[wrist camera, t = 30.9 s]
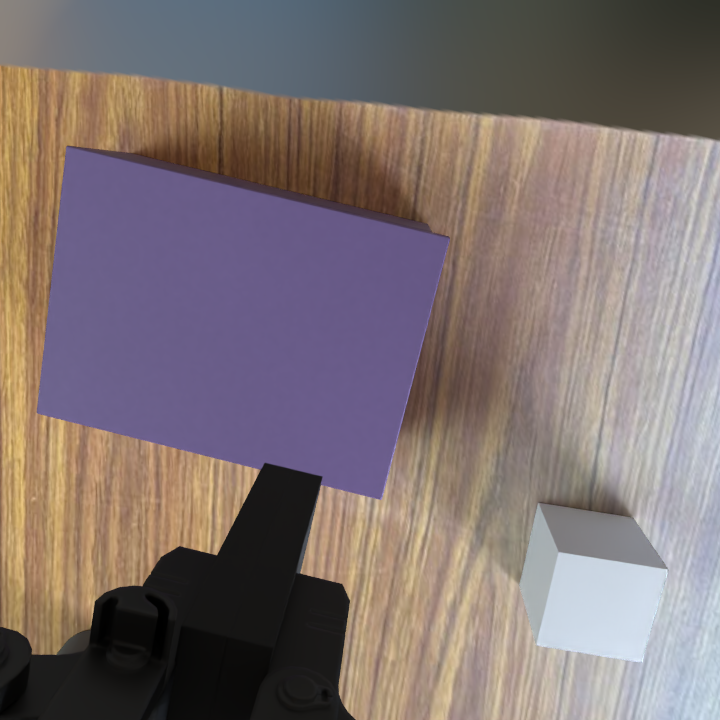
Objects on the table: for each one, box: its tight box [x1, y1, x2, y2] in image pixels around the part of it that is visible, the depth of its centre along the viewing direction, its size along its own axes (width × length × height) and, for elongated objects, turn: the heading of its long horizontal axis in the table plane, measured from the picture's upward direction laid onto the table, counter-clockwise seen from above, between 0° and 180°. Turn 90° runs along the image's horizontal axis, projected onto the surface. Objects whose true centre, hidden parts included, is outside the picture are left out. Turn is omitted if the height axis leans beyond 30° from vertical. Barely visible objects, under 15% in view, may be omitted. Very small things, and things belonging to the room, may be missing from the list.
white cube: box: [519, 503, 668, 663], centre depth 41 cm, size 6×6×6 cm
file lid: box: [37, 146, 450, 500], centre depth 34 cm, size 18×14×1 cm
